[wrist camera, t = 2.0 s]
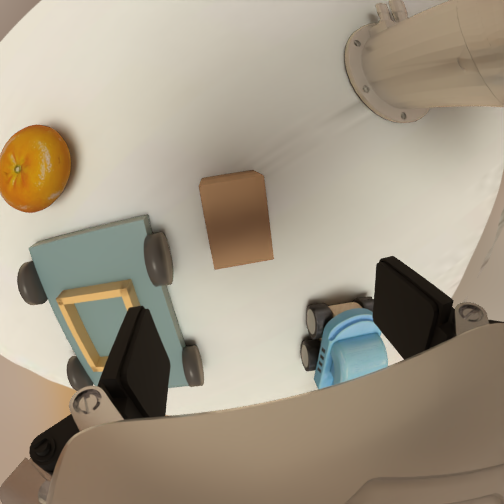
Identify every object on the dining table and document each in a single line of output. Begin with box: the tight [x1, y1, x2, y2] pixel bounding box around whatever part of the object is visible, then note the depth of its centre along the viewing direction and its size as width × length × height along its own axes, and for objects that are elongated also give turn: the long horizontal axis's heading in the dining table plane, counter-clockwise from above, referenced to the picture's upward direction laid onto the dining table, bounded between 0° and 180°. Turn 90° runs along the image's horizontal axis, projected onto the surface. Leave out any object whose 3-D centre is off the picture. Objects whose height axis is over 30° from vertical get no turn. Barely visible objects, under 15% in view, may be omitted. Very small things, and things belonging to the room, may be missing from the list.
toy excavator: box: [301, 297, 388, 389], centre depth 28 cm, size 9×17×17 cm, turn 0°
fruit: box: [0, 125, 71, 213], centre depth 20 cm, size 8×8×8 cm
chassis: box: [17, 215, 204, 391], centre depth 28 cm, size 22×18×5 cm
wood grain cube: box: [199, 170, 274, 270], centre depth 25 cm, size 7×5×6 cm
